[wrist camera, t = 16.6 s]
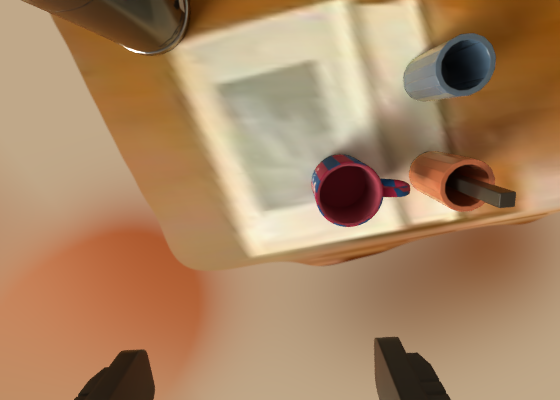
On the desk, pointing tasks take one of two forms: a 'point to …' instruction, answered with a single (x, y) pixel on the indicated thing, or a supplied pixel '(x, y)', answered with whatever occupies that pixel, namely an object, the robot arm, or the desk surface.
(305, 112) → the desk surface
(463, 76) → the holder
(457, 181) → the chopstick
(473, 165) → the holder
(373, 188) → the mug
